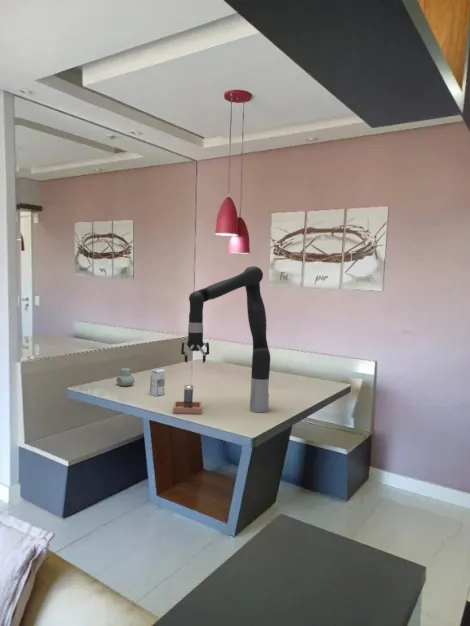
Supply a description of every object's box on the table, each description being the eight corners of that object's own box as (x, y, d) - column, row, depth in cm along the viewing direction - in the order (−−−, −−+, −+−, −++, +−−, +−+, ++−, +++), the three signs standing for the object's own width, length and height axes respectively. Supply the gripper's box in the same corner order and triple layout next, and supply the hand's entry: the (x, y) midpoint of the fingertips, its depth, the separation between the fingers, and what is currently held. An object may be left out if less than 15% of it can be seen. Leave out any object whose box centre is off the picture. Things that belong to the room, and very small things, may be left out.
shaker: (192, 407, 241) (193, 385, 240) (192, 410, 236) (193, 387, 235) (183, 407, 240) (184, 384, 239) (183, 410, 236) (184, 386, 235)
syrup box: (157, 392, 270) (158, 368, 269) (164, 394, 266) (165, 369, 265) (149, 394, 265) (150, 369, 264) (156, 396, 262) (157, 371, 260)
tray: (201, 407, 245) (201, 401, 245) (201, 414, 233) (201, 408, 233) (174, 406, 244) (174, 401, 243) (173, 413, 232) (173, 407, 232)
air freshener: (114, 384, 285) (115, 368, 284) (127, 382, 291) (127, 366, 290) (123, 388, 277) (123, 371, 276) (135, 386, 283) (136, 370, 282)
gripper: (209, 330, 241) (208, 361, 243) (181, 330, 240) (181, 361, 241) (209, 332, 234) (209, 364, 235) (181, 331, 233) (180, 364, 234)
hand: (195, 362), depth 238 cm, fingers open, 8 cm apart
